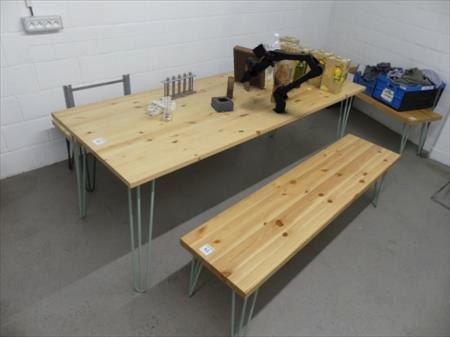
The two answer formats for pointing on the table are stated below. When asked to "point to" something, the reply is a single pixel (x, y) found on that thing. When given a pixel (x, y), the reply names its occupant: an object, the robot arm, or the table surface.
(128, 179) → the table surface
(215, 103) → the bore block
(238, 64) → the photo frame
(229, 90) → the walnut pin
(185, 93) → the test tube rack
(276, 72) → the pancake mix bag
